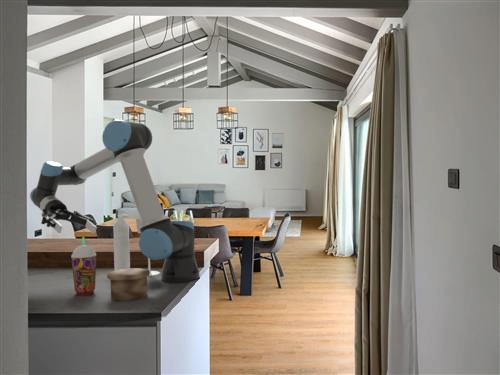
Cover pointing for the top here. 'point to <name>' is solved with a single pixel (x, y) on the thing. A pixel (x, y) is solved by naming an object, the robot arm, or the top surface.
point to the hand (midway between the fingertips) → (78, 230)
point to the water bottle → (121, 243)
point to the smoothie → (84, 269)
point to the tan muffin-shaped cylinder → (128, 284)
